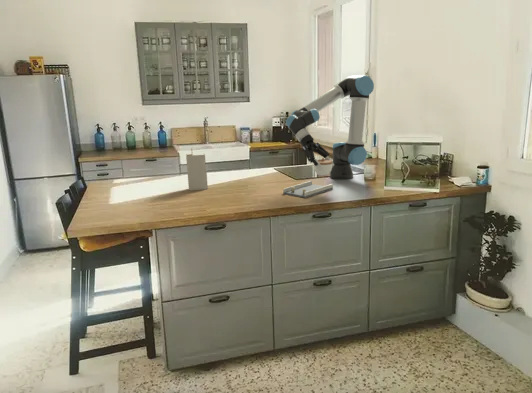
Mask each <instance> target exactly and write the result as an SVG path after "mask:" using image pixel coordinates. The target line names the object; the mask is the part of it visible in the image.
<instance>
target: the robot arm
mask: <svg viewBox="0 0 532 393" xmlns="http://www.w3.org/2000/svg"><path fill="white" fill-rule="evenodd" d="M374 88H375V83H374V80H373V79H372V78H371V77H370V76H368V75H365V74H362V75H361V74H360V75H350V76H347V77H345V78H344V79H342V80H341V81H339V82H338V83H337V84H335V85H333V88H331V89H329V90H328V91H326V92H325V93H324V94H321V95H320V96H319V97H317V98H316V99H314V100H312V101H311V102H309V103H308V104H306V105H305V106H303V107H301V108H299V109H297V110H294V111H292V112H291V114H290V115H289V116H288V117H287V118H286V120H285V124H286V126H287V128H288V129H289V131H291V132H292V134H293V135H294V136H295V138H296V139H297V141H298V142H299V143H300V144H301V146H302V147H301V148H302V151H303V152H304V154H305V157H306V159H307V161H308V163H311V164H312V163H313V166H314V165H315V166H316V167H317V168H318V170H319V171H321V170H322V169H323V167H322V166H321V164H320V163H319V162H318V160H319V159H317V158H316V157H315V153H317V154H318V155H320V156H321V157H322V158H324V159H325V160H332V161H333V163H332V170H331V172H330V173H329V178H332V179H335V180H347V179H352V178H354V172H353V169H352V166H359V165H361V164H363V163H364V162H365V161H366V159H367V156H368V151H367V150H366V148H365V143H364V141H363V136H364V127H365V124H364V123H365V116H366V107H367V101H368V100H369V99H370V95H371V94H372V93H373V91H374ZM348 96H349V99H350V100H351V106H350V117H349V128H348V138H347V140H346V141H343V142H341V141H340V142H335V143H333V144H332V159H331V157H329V156H330V153H329V152H328V151H327V149H325V148H324V147H323V146H322V145H321V144H320V143H319V142H314V137H313V136H312V135H311V134H310V132H309V131H308V129H307V127H309V126H311V125H312V124H315V123H316V122H318V121H319V120H320V119H321V117H320V114H319V112H321V111H322V110H323V109H326V108H327V107H329V106H330V105H332V104H334V103H335V102H336V101H338V100H340V99H344V98H346V97H348Z"/></svg>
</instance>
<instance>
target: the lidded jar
mask: <svg viewBox="0 0 532 393" xmlns="http://www.w3.org/2000/svg"><path fill="white" fill-rule="evenodd" d="M317 160H318V162H319V163H320V164H321V166H322V167H323V169H322V170H321V171H319V170H318V168H317V167H316V166H315V165H314V164H313V171H314V172H315V173H316V174H317V175H318V176H328V175H330V172H331V170H332V163H333V159H331V160H325V158H324V157H322V158H321V159H317Z"/></svg>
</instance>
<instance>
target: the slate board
mask: <svg viewBox="0 0 532 393" xmlns="http://www.w3.org/2000/svg"><path fill="white" fill-rule="evenodd" d="M333 186H334V184H333V183H330V184H327V185H320V184H319V185H318V184H314V183H313V181H312V180H309V181H306V182H302V183H298V184H295V185H292V186H288V187H284V188H283V189H282V191H283V195H288V196H293V197H298V198H304V199H306V198H309V197H312V196H315V195H319V194H322V193H325V192H327V191H331V190H333V189H334V188H333Z"/></svg>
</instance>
